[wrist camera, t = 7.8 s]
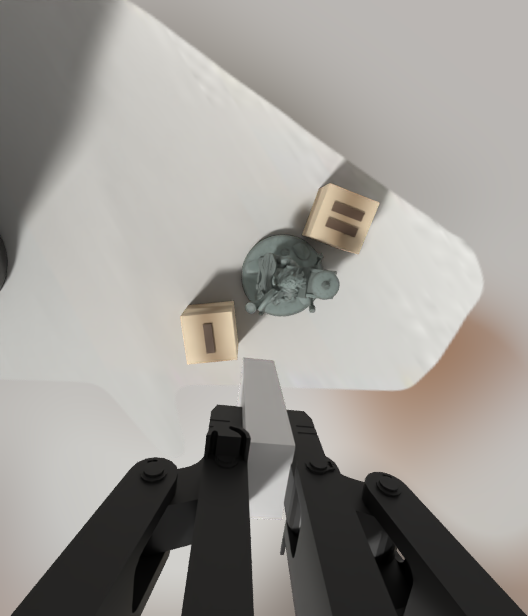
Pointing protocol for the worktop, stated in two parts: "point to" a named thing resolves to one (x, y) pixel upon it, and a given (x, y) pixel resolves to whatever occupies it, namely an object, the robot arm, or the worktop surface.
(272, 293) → the figurine
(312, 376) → the worktop surface
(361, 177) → the worktop surface
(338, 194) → the marked cube
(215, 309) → the marked cube
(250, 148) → the worktop surface
